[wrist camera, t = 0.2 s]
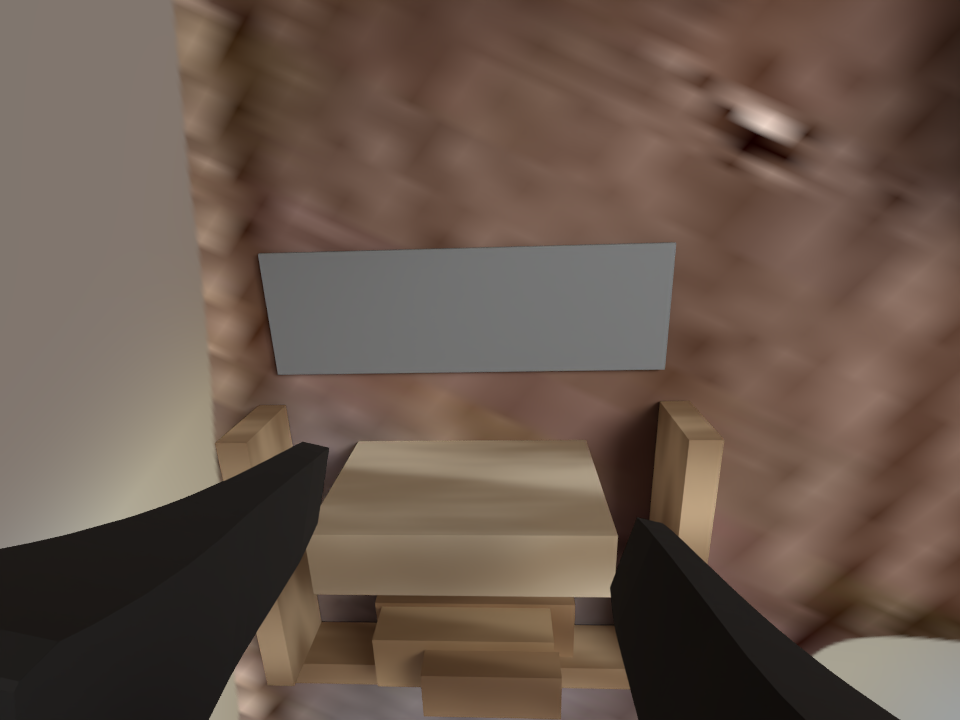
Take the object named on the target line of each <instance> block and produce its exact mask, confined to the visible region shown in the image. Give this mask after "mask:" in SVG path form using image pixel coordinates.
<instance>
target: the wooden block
mask: <svg viewBox="0 0 960 720" xmlns="http://www.w3.org/2000/svg"><path fill="white" fill-rule="evenodd" d="M617 542H618V535H617V532H616V529H615V526H614V523H613V520H612V517H611V514H610V511H609V508H608V505H607V502H606V499H605V496H604V493H603V490H602V487H601V484H600V481H599V478H598V475H597V472H596V469H595V466H594V463H593V460H592V457H591V454H590V451H589V448H588V445H587V442H586V440H490V441H358V443H357V445H356V446H355V448H354V450H353V452H352V453H351V455H350V457H349V458H348V460H347V462H346V464H345V465H344V467H343V469H342V470H341V472H340V474H339V475H338V477H337V479H336V481H335V482H334V484H333V486H332V487H331V489H330V491H329V493H328V494H327V496H326V498H325V499H324V501H323V503H322V504H321V506H320V512H319V519H318V524H317V526H316V528H315V531H314V533H313V535H312V537H311V539H310V542H309V544H308V546H307V548H306V551H307V557H308V563H309V569H310V575H311V581H312V587H313V593H314V594H320V595H422V596H524V597H611V593H610V586H611V583H612V581H613V578H614V576H615V572H616V557H617Z"/></svg>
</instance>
